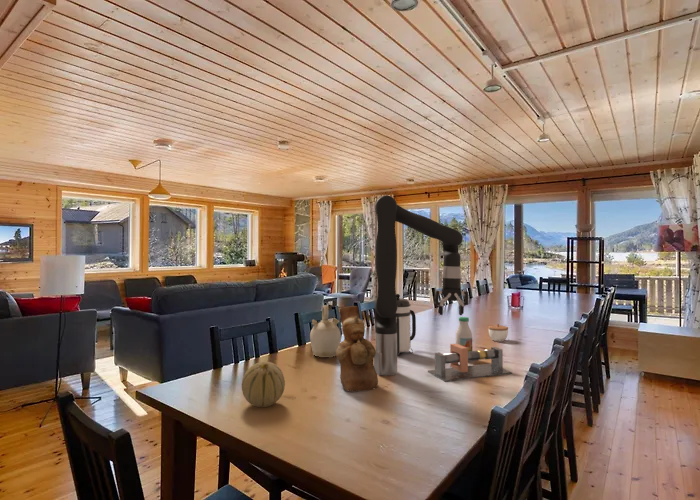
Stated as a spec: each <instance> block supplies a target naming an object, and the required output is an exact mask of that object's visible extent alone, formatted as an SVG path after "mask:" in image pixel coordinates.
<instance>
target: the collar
mask: <svg viewBox="0 0 700 500" xmlns="http://www.w3.org/2000/svg"><path fill="white" fill-rule="evenodd" d="M449 347H450V352H449V353H459V354H460V362H458V363H450V368H454V369H456V370H458V371H460V372H467V371H468V366H469V361H468V348H467V347H464V346H461V345H459V344H456V343H450V346H449Z"/></svg>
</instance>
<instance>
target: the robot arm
mask: <svg viewBox="0 0 700 500" xmlns="http://www.w3.org/2000/svg"><path fill="white" fill-rule="evenodd" d="M374 210H375V211H374V212H375V214H376V220H377V233H376V239H375V247H374V249H375V251H374V253H375V254H374V259H375V260H374V262H375V265H374V266H375V273H376V279H377V296H376V299H375V301H374V328H375V329H374V330H375V331H374V333H375V339H374V340H375V350H376V354H375V356H374V358H373V365H374V368H375V371H376V374H377V376H386V377H387V376H395V375H397V374H398V356H397V324H396V311H397V299H396V294H397V291H396V289H397V288H396V279H397V268H398V266H397V265H398V249H397V245H398V244H397V236H396V223H400V224H402V225H404V226H406V227H409V228H411V229H412V230H415V231H416V232H418V233H420V234H423V235H425V236H427V237H429V238H432V239H435V240H438V241H440V242H442V250H443V251H442V252H443V264H442V265H443V266H442V267H443V269H442V274H441V275H442V285H441V286H442V290H437V289H436V290H434V298H433V304H435V305H436V306H437V312H438V314H439V316H443V313H444V312H443V311H444V310H443V308H444V307H443V306H444V304H445V303H446V302H447V301H448V302H451V301H453V302H457V303H458V305H459V307H458V315H459V316H463V314H464V307H465V306H468V305H469V292H468V291H467V290H461V286H462V285H461V282H462V281H461V280H462V278H461V277H462V275H461V274H462V272H461V269H462V268H461V255H460V251H459V246H460V245H461V244H462V242H463V239H464V238H463V235H462V233H461V232H460V231H459V230H457V229H454V228H452V227H449V226H447V225H444V224H441V223H439V222H437V221H436V220H434V219H431V218H429V217H427V216H424V215H421V214H418V213H415V212H412V211H410V210H408V209H405V208H404V207H401V206H400V205H399V204H398V203H397V201H396V199H395V198H394V197H392V196H391V195H389V194H386V195H382V196H380V197H379V198H378V199H377V200H376V202H375V204H374ZM441 295H442V297H441V299H440V300H439V298H440V296H441ZM461 295H462V296H463V297H462V298H463V300H462V299H461V298H460V296H461Z"/></svg>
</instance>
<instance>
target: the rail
mask: <svg viewBox="0 0 700 500" xmlns="http://www.w3.org/2000/svg"><path fill="white" fill-rule="evenodd" d="M503 355H504V354H503V348H499V347H497V346H491V347H490V348H489V349H483V350H472V351H468V362H475V361H479V360H490V361H491V363H484V364H483V363H482V364H475V365H468V371H467V372H460V371H458V370H456V369H454V368H452V367H448V368H446V364H447V365H449V364H451V363H458V364H459V363H460V354H459V353H450V352H449V353H441V352H434V369H429V370H427V373H429V374H430V375H433V376H434V377H435V378H438V379H440V380H441V381H443V382H445V383H446V382H447V383H448V382H453V381H454V382H455V381H461V380H462V381H463V380H469V379H470V380H471V379H480V378H485V377H487V378H488V377H493V376H494V377H495V376H504V375H505V376H506V375H512V373H513V371H510V370H507V369H505V368H504V366H503V365H504V363H503V362H504V358H503Z"/></svg>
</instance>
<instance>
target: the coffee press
mask: <svg viewBox="0 0 700 500" xmlns="http://www.w3.org/2000/svg"><path fill="white" fill-rule="evenodd" d="M400 297H401V295H400V294H399V293H396V299H397V311H396V324H397V357H400V353H405V352H406V353H407V352H409V353H410V354H413V352H414V350H413V349H412V348H411V341H412V340H414V339H415V337H416V334H417V333H416V331H417V329H416V328H417V325H416V324H417V323H416V322H417V321H416V314H415V311H414V310H411V303H410V301H409V300H408V299H406V298H400ZM411 323H412V324H411ZM411 326H412V327H411ZM410 350H411V351H410Z"/></svg>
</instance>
